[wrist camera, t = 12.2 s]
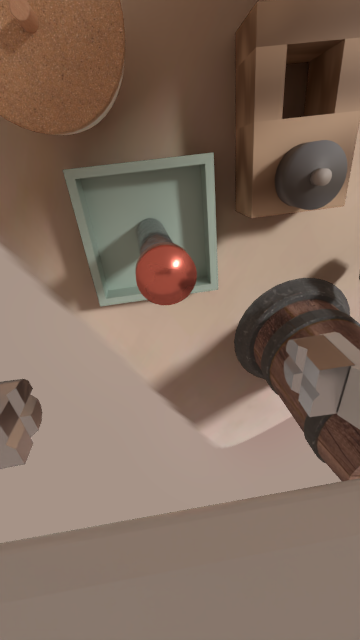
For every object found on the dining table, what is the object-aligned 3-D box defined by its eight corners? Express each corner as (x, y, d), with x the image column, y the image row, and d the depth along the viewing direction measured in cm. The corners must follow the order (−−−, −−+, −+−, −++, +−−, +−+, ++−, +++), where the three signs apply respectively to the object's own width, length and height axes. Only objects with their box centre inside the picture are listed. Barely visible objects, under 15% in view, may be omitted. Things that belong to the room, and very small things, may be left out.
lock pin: (128, 215, 28) (130, 252, 17) (167, 210, 28) (194, 242, 17) (135, 253, 30) (141, 309, 19) (171, 248, 30) (198, 300, 19)
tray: (70, 169, 26) (62, 169, 23) (206, 154, 27) (213, 152, 24) (103, 295, 33) (100, 306, 30) (212, 280, 33) (218, 289, 31)
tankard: (295, 392, 45) (393, 535, 27) (211, 357, 39) (266, 508, 22) (411, 271, 36) (660, 365, 19) (325, 203, 31) (566, 249, 13)
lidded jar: (47, -80, 19) (-23, -267, 11) (155, 76, 24) (163, 27, 15) (-38, 53, 22) (-147, -16, 13) (74, 170, 26) (44, 171, 18)
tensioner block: (235, 32, 23) (279, -31, 16) (338, 23, 23) (427, -42, 16) (235, 210, 30) (265, 224, 22) (315, 200, 30) (370, 211, 23)
